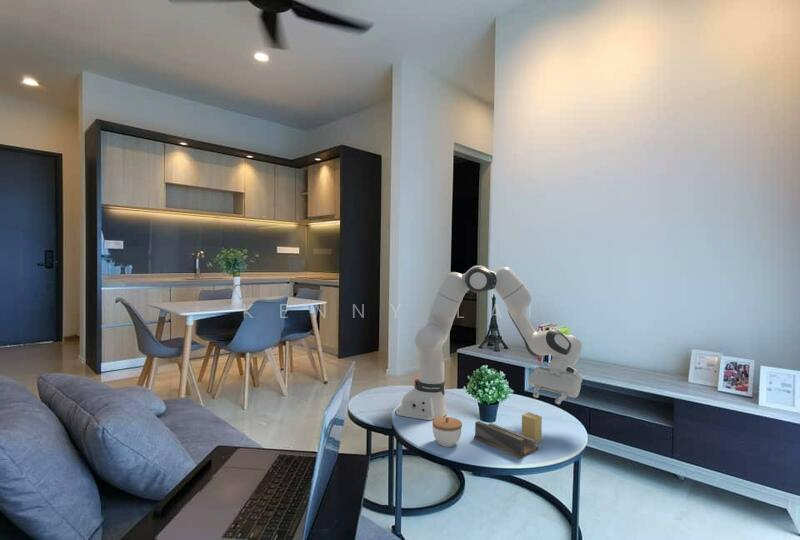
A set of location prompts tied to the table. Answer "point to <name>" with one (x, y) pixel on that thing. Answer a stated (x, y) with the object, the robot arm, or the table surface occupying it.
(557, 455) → the table surface
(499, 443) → the base
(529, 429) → the ochre block
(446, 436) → the lidded jar
